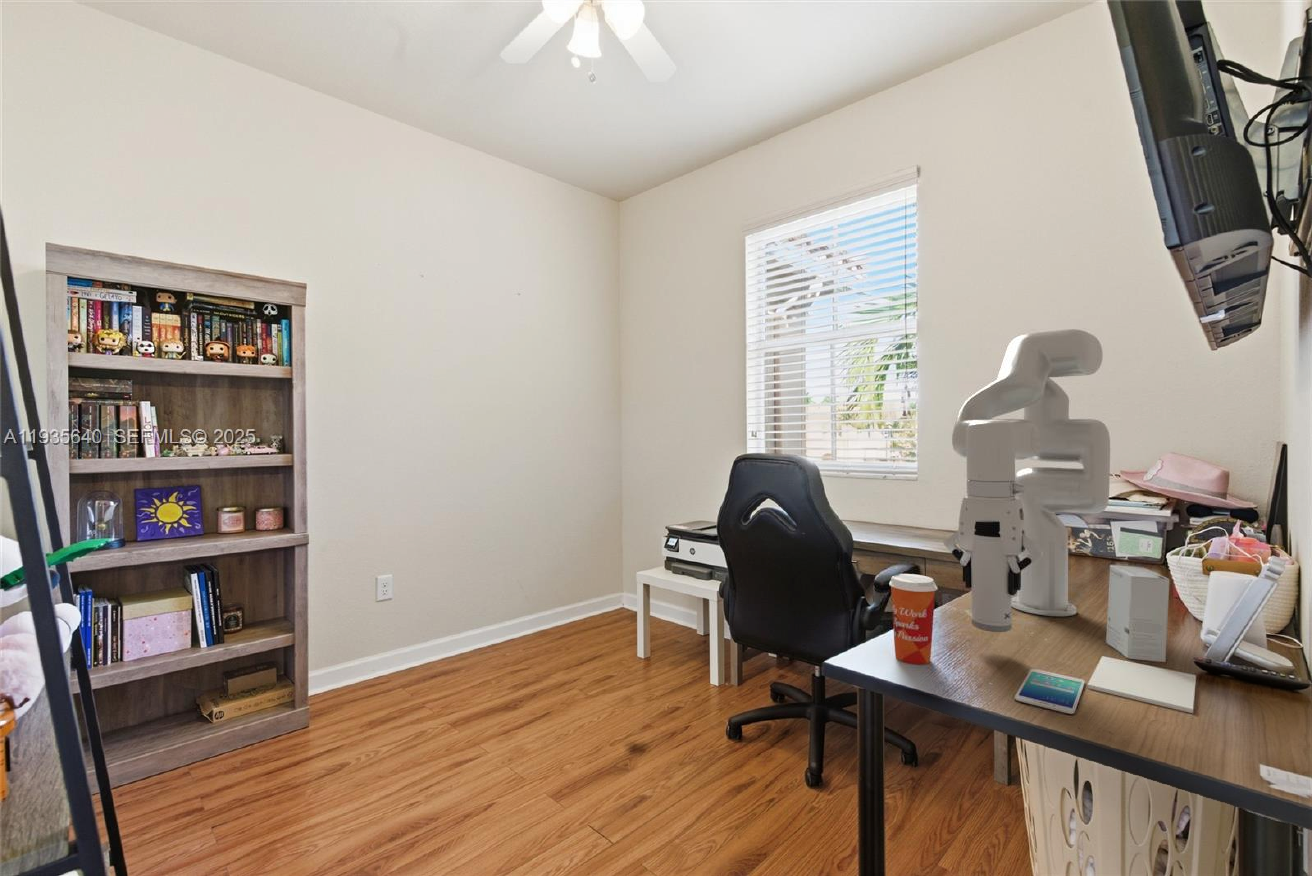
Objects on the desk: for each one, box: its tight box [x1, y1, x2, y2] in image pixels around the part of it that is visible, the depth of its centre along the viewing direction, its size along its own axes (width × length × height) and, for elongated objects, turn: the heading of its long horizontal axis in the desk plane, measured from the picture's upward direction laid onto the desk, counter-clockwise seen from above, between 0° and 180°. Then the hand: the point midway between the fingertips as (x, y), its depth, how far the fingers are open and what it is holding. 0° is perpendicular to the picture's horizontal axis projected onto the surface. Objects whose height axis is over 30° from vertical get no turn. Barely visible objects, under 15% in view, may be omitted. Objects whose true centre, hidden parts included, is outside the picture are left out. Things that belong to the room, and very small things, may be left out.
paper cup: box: [888, 573, 938, 666], centre depth 103 cm, size 8×8×14 cm
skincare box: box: [1105, 564, 1170, 663], centre depth 106 cm, size 8×6×15 cm
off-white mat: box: [1087, 655, 1197, 714], centre depth 93 cm, size 16×12×1 cm
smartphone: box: [1013, 668, 1086, 717], centre depth 90 cm, size 8×1×15 cm
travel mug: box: [970, 522, 1013, 633], centre depth 106 cm, size 6×7×20 cm
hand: (991, 589), depth 106 cm, fingers closed on travel mug, 6 cm apart
